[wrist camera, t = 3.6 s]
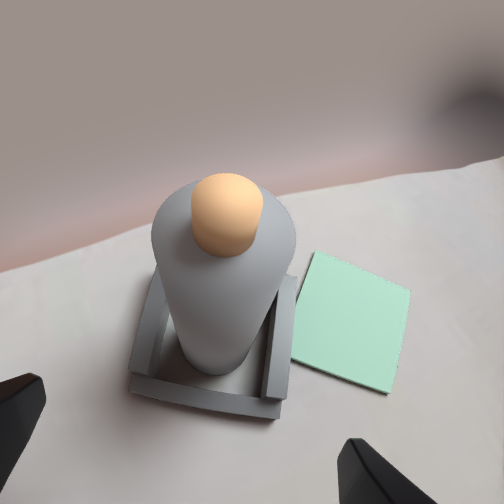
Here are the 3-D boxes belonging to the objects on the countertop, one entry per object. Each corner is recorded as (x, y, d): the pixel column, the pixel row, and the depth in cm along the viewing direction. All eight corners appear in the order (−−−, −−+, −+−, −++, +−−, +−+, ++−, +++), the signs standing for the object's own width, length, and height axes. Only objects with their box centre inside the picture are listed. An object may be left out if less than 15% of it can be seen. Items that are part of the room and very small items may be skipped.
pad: (387, 393, 20) (390, 393, 20) (276, 352, 21) (277, 351, 21) (408, 292, 25) (410, 291, 25) (314, 252, 26) (315, 249, 26)
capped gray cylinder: (193, 383, 19) (165, 295, 7) (173, 321, 21) (133, 162, 9) (259, 362, 21) (337, 245, 8) (235, 302, 23) (269, 136, 11)
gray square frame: (275, 419, 19) (284, 418, 17) (132, 393, 18) (123, 388, 16) (289, 291, 24) (297, 276, 22) (164, 269, 23) (160, 251, 21)
